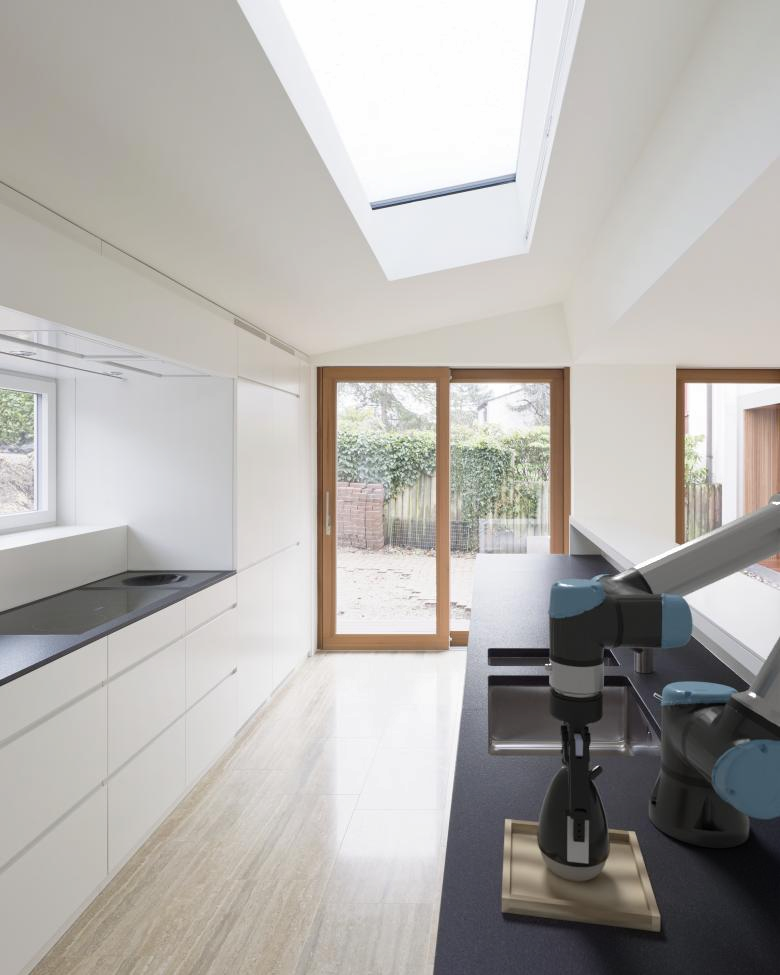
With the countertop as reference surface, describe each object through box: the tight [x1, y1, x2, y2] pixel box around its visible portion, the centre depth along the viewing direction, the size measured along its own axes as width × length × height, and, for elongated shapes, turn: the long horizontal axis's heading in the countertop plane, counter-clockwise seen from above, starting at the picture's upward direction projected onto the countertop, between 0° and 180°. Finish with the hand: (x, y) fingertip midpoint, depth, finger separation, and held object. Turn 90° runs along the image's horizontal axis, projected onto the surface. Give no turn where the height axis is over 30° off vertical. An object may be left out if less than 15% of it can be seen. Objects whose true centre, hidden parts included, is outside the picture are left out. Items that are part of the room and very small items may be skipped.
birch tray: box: [501, 818, 661, 933], centre depth 98 cm, size 20×20×2 cm
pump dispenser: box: [537, 764, 610, 881], centre depth 98 cm, size 10×10×15 cm
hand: (573, 833), depth 98 cm, fingers open, 13 cm apart
